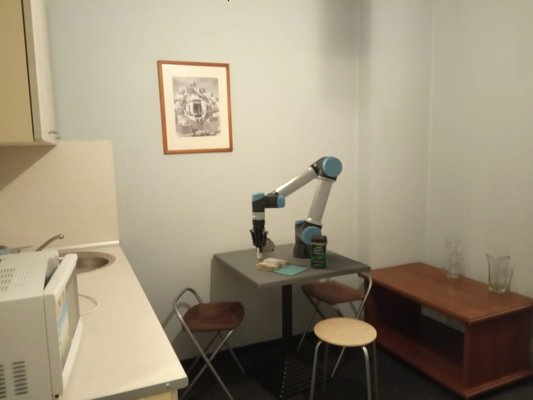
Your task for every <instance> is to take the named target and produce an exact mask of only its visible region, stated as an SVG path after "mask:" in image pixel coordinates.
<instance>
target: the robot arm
mask: <svg viewBox="0 0 533 400" xmlns="http://www.w3.org/2000/svg"><path fill="white" fill-rule="evenodd" d="M342 171H343V164H342V162H341V160H340V159H339V158H338V157H335V156H323V157H320V158H318V159H317V160H316V161H315V162H313V163H311V164H310V165H309V166H308V168H307V169H305V170H304V171H302V172H301V173H300V174H298V175H296V176H295V177H293V178H292V179H290V180H289V181H286V182H285V183H283V184H282V185H281V186H279V187H277V188H276V189H274V190H273V191H271V192H268V193H267V194H266V193H265V192H253V193H252V194H251V213H252V215H251V218H252V223H251V224H252V228H251V229H249V232H250V236H251V241H252V245H253V246H254V247H255V252H256V259H262V258H263V251H264V250H263V248H264V247H266V244H267V238H268V234H269V231H268V230H266V228H265V225H266V219H265V218H266V209H284V208H285V206H286V198H288V197H289V196H290V195H292V194H293V193H296V191H298V190H299V189H301V188H303V187H304V186H306V185H308V184H309V183H311V182H312V181H313V180H315V179H316V180H317V184H316V188H315V191H314V195H313V197H312V201H311V204H310V206H309V207H310V208H309V211H308V213H307V217H306V218H304V219H300V220H299V219H297V220H295V222H294V247H293V250H292V257H294V258H297V259H298V258H299V259H311V254H312V246H311V243H310V242H311V236H312V235H322V229H323V223H322V219H323V217H324V213H325V211H326V207H327V204H328V200H329V196H330V193H331V190H332V187H333V184H334V183H336V182H337V179H338V176H339V175H340V174H341V173H342ZM265 194H266V195H265Z"/></svg>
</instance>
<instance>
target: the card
mask: <svg viewBox="0 0 533 400" xmlns="http://www.w3.org/2000/svg"><path fill="white" fill-rule="evenodd" d="M282 260H283V259H280V260H279V258H275V259H274V258H273V257H268V258H266V259H263V262H264V263H267V264H272V265H277V264H280V263H282Z"/></svg>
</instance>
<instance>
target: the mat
mask: <svg viewBox="0 0 533 400" xmlns="http://www.w3.org/2000/svg"><path fill="white" fill-rule="evenodd" d="M306 270H309V268H307V267H301V266H298V265H292V264H289V265H288V266H286V267H283V268H280V269H278V270H275V271H273V272H272V273H276V274H280V275H285V276H288V275H289V276H290V277H293V276H295V275H297V274H299V273H302V272H305V271H306Z"/></svg>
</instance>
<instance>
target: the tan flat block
mask: <svg viewBox="0 0 533 400" xmlns="http://www.w3.org/2000/svg"><path fill="white" fill-rule="evenodd" d="M274 259H276V258H274ZM278 259H279V258H278ZM279 260H282V263H280V264H277V265H272V264H267V263H264V261H262V262H259V263H256V264H255V269H256V270H262V271H265V272H266V271H267V272H271V273H274V272H273V271H275V270H278V269H280V268H283V267H286V266H288V265H290V261H289V260H285V259H279Z"/></svg>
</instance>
